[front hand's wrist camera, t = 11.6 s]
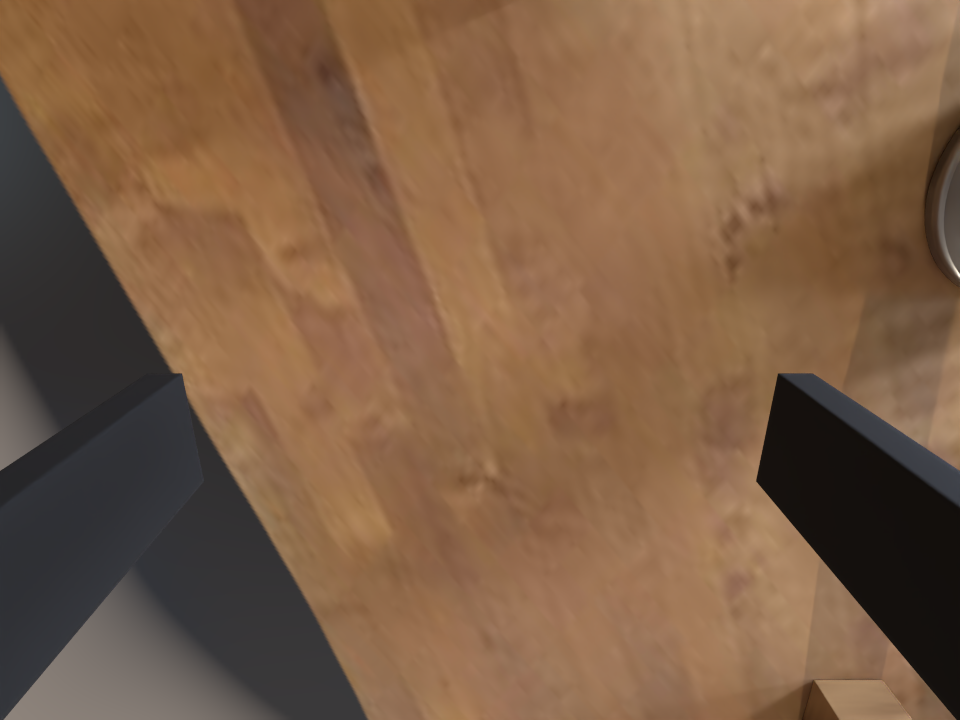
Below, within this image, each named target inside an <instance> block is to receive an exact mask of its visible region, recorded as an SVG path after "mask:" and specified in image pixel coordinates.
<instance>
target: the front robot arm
mask: <svg viewBox="0 0 960 720" xmlns="http://www.w3.org/2000/svg"><path fill="white" fill-rule="evenodd" d="M925 230H926V237H927V242H928V246H929V248H930V251H931V254H932V256H933V258H934V260H935V262H936V264H937V265H938V267H939V268H940V270H941V271H942V272H943V273H944V275H945V276H946V277H947V278H948V279H949V280H951V281H952V282H953V283H954V284H955V285H957V286H958V287H960V127H959V129H958V130H957V131H956V133H955V134H954V136H953V137H952V139H951V140H950V142H949V143H948V145H947V147H946V148H945V150H944V152H943V154H942V156H941V158H940V160H939V162H938V164H937V166H936V169H935V171H934V174H933V176H932V179H931V183H930V186H929V190H928V195H927V200H926V207H925ZM203 482H204V480H203V475H202V470H201V465H200V460H199V455H198V450H197V445H196V440H195V435H194V430H193V426H192V421H191V416H190V411H189V406H188V401H187V396H186V391H185V386H184V381H183V376H182V374H146V375H144V376H143V377H141V378H140V379H138V380H137V381H135V382H134V383H132V384H131V385H129V386H128V387H126V388H125V389H123V390H122V391H120V392H119V393H117V394H116V395H114V396H113V397H111V398H110V399H108V400H107V401H105V402H103V403H102V404H101V405H99V406H98V407H96V408H95V409H93V410H92V411H90V412H88V413H87V414H85V415H84V416H82V417H81V418H79V419H78V420H76V421H75V422H73V423H72V424H70V425H69V426H67V427H66V428H64V429H63V430H61V431H60V432H58V433H57V434H55V435H54V436H52V437H51V438H49V439H48V440H46V441H45V442H43V443H42V444H40V445H39V446H37V447H36V448H34V449H33V450H31V451H30V452H28V453H27V454H25V455H24V456H22V457H21V458H19V459H18V460H16V461H15V462H13V463H12V464H10V465H9V466H7V467H6V468H4V469H3V470H1V471H0V720H4V718H5V717H6V716H7V715H8V714H9V712H10V711H11V710H12V709H13V708H14V706H15V705H16V704H17V703H18V702H19V700H20V699H21V698H22V697H23V696H24V695H25V693H26V692H27V691H28V690H29V689H30V687H31V686H32V685H33V684H34V683H35V681H36V680H37V679H38V678H39V677H40V676H41V674H42V673H43V672H44V671H45V670H46V668H47V667H48V666H49V665H50V664H51V662H52V661H53V660H54V659H55V658H56V656H57V655H58V654H59V653H60V652H61V651H62V649H63V648H64V647H65V646H66V645H67V643H68V642H69V641H70V640H71V639H72V637H73V636H74V635H75V634H76V633H77V632H78V630H79V629H80V628H81V627H82V626H83V624H84V623H85V622H86V621H87V620H88V618H89V617H90V616H91V615H92V614H93V612H94V611H95V610H96V609H97V608H98V606H99V605H100V604H101V603H102V602H103V601H104V599H105V598H106V597H107V596H108V595H109V593H110V592H111V591H112V590H113V589H114V587H115V586H116V585H117V584H118V583H119V581H120V580H121V579H122V578H123V577H124V576H125V574H126V573H127V572H128V571H129V570H130V568H131V567H132V566H133V565H134V564H135V562H136V561H137V560H138V559H139V558H140V556H141V555H142V554H143V553H144V552H145V551H146V549H147V548H148V547H149V546H150V545H151V543H152V542H153V541H154V540H155V539H156V537H157V536H158V535H159V534H160V533H161V532H162V530H163V529H164V528H165V527H166V526H167V524H168V523H169V522H170V521H171V520H172V518H173V517H174V516H175V515H176V514H177V513H178V511H179V510H180V509H181V508H182V507H183V505H184V504H185V503H186V502H187V501H188V499H189V498H190V497H191V496H192V495H193V493H194V492H195V491H196V490H197V489H198V488H199V486H200V485H201V484H202V483H203ZM756 482H757V483H758V484H759V485H760V486H761V488H762V489H763V490H764V491H765V492H766V493H767V495H768V496H769V497H770V498H771V499H772V501H773V502H774V503H775V504H776V505H777V507H778V508H779V509H780V510H781V511H782V513H783V514H784V515H785V516H786V517H787V518H788V520H789V521H790V522H791V523H792V524H793V526H794V527H795V528H796V529H797V530H798V532H799V533H800V534H801V535H802V536H803V538H804V539H805V540H806V541H807V542H808V543H809V545H810V546H811V547H812V548H813V549H814V551H815V552H816V553H817V554H818V555H819V557H820V558H821V559H822V560H823V561H824V563H825V564H826V565H827V566H828V567H829V568H830V570H831V571H832V572H833V573H834V574H835V576H836V577H837V578H838V579H839V580H840V582H841V583H842V584H843V585H844V586H845V587H846V589H847V590H848V591H849V592H850V593H851V595H852V596H853V597H854V598H855V599H856V601H857V602H858V603H859V604H860V605H861V607H862V608H863V609H864V610H865V611H866V612H867V614H868V615H869V616H870V617H871V618H872V620H873V621H874V622H875V623H876V624H877V626H878V627H879V628H880V629H881V630H882V632H883V633H884V634H885V635H886V636H887V637H888V639H889V640H890V641H891V642H892V643H893V645H894V646H895V647H896V648H897V649H898V651H899V652H900V653H901V654H902V655H903V656H904V658H905V659H906V660H907V661H908V662H909V664H910V665H911V666H912V667H913V668H914V670H915V671H916V672H917V673H918V674H919V676H920V677H921V678H922V679H923V680H924V681H925V683H926V684H927V685H928V686H929V687H930V689H931V690H932V691H933V692H934V693H935V695H936V696H937V697H938V698H939V699H940V701H941V702H942V703H943V704H944V705H945V706H946V708H947V709H948V710H949V711H950V712H951V714H952V715H953V716H954V717H955V718H956V720H960V471H959V470H957V469H956V468H954V467H953V466H951V465H950V464H948V463H947V462H945V461H944V460H942V459H941V458H939V457H938V456H936V455H935V454H933V453H932V452H930V451H929V450H927V449H926V448H924V447H923V446H921V445H920V444H918V443H917V442H915V441H914V440H912V439H911V438H909V437H908V436H906V435H905V434H903V433H902V432H900V431H899V430H897V429H896V428H894V427H893V426H891V425H890V424H888V423H887V422H885V421H884V420H882V419H881V418H879V417H878V416H876V415H875V414H873V413H872V412H870V411H869V410H867V409H866V408H864V407H863V406H861V405H860V404H858V403H857V402H855V401H853V400H852V399H850V398H849V397H847V396H846V395H844V394H843V393H841V392H840V391H838V390H837V389H835V388H834V387H832V386H831V385H829V384H828V383H826V382H825V381H823V380H822V379H820V378H819V377H817V376H816V375H814V374H778V376H777V381H776V386H775V391H774V396H773V401H772V406H771V411H770V416H769V421H768V426H767V430H766V435H765V440H764V445H763V450H762V455H761V460H760V465H759V470H758V475H757V479H756Z"/></svg>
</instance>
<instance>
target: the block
mask: <svg viewBox="0 0 960 720" xmlns="http://www.w3.org/2000/svg"><path fill="white" fill-rule="evenodd" d="M803 720H912V718H911V717H910V716H909V714H908V713H907V712H906V710H905V709H904V708H903V706H902V705H901V704H900V702H899V701H898V700H897V699H896V697H895V696H894V695H893V693H892V692H891V691H890V689H889V688H888V687H887V685H886V684H885V683H884V681H883V680H814V681H813V685H812V688H811V692H810V695H809V699H808V702H807V706H806V709H805V713H804V716H803Z"/></svg>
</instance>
